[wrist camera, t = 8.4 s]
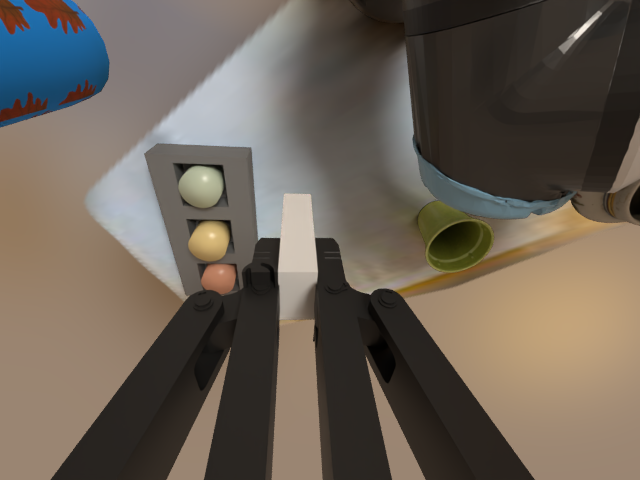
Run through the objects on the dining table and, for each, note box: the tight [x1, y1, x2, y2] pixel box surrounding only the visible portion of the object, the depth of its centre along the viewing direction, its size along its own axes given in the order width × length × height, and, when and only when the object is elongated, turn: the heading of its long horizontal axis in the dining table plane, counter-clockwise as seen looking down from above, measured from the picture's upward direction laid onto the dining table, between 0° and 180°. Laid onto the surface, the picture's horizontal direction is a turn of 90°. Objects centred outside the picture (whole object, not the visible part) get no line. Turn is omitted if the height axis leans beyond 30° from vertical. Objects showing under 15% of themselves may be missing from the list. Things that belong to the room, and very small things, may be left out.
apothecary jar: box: [570, 179, 640, 226], centre depth 32 cm, size 12×12×18 cm
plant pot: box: [418, 201, 494, 273], centre depth 43 cm, size 9×9×9 cm
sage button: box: [178, 164, 226, 208], centre depth 37 cm, size 5×5×4 cm
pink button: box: [201, 264, 237, 294], centre depth 46 cm, size 5×5×4 cm
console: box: [144, 144, 258, 295], centre depth 43 cm, size 24×12×4 cm, turn 176°
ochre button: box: [188, 219, 231, 261], centre depth 41 cm, size 5×5×4 cm
